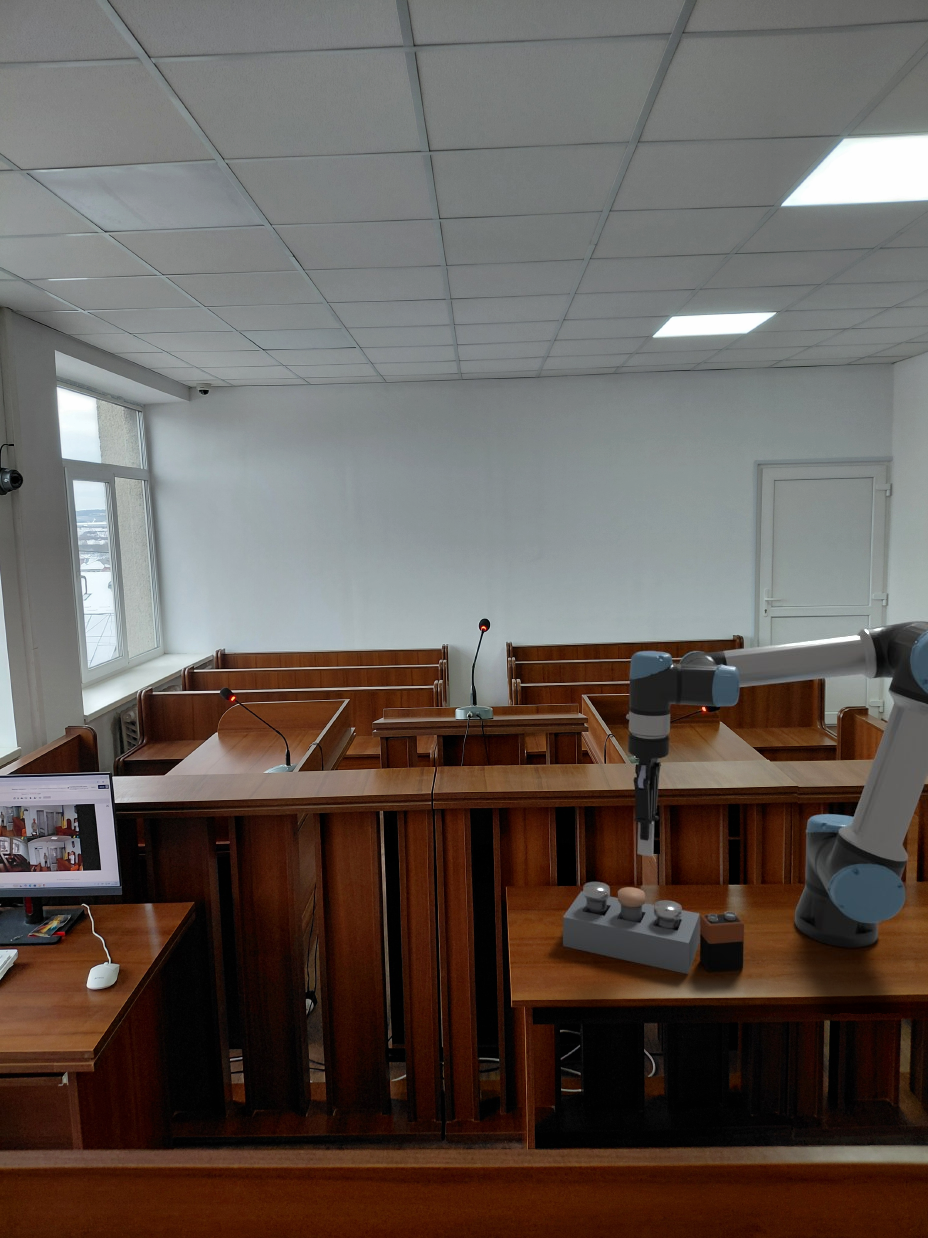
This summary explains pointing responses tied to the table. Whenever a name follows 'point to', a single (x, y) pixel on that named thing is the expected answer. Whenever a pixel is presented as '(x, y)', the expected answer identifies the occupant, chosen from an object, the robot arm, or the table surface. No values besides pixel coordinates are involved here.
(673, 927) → the plunger
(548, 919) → the table surface
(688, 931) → the console
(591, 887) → the plunger
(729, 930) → the battery
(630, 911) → the plunger mid
